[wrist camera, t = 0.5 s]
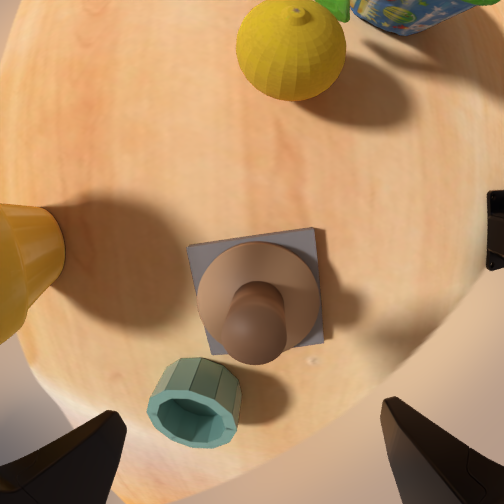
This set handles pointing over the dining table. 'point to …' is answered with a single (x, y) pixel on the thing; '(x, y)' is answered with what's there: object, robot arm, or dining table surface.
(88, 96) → the dining table surface
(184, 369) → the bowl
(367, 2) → the snack cup
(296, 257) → the lid
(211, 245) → the mat
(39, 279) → the plant pot
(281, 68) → the lemon
